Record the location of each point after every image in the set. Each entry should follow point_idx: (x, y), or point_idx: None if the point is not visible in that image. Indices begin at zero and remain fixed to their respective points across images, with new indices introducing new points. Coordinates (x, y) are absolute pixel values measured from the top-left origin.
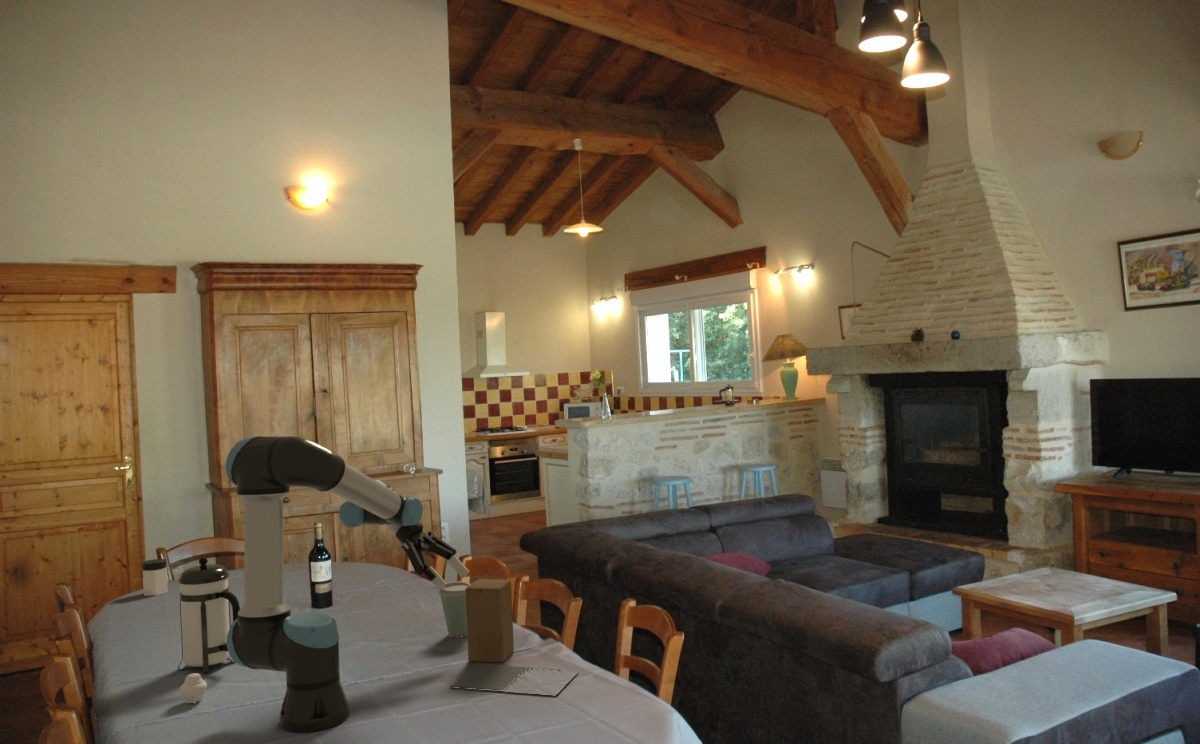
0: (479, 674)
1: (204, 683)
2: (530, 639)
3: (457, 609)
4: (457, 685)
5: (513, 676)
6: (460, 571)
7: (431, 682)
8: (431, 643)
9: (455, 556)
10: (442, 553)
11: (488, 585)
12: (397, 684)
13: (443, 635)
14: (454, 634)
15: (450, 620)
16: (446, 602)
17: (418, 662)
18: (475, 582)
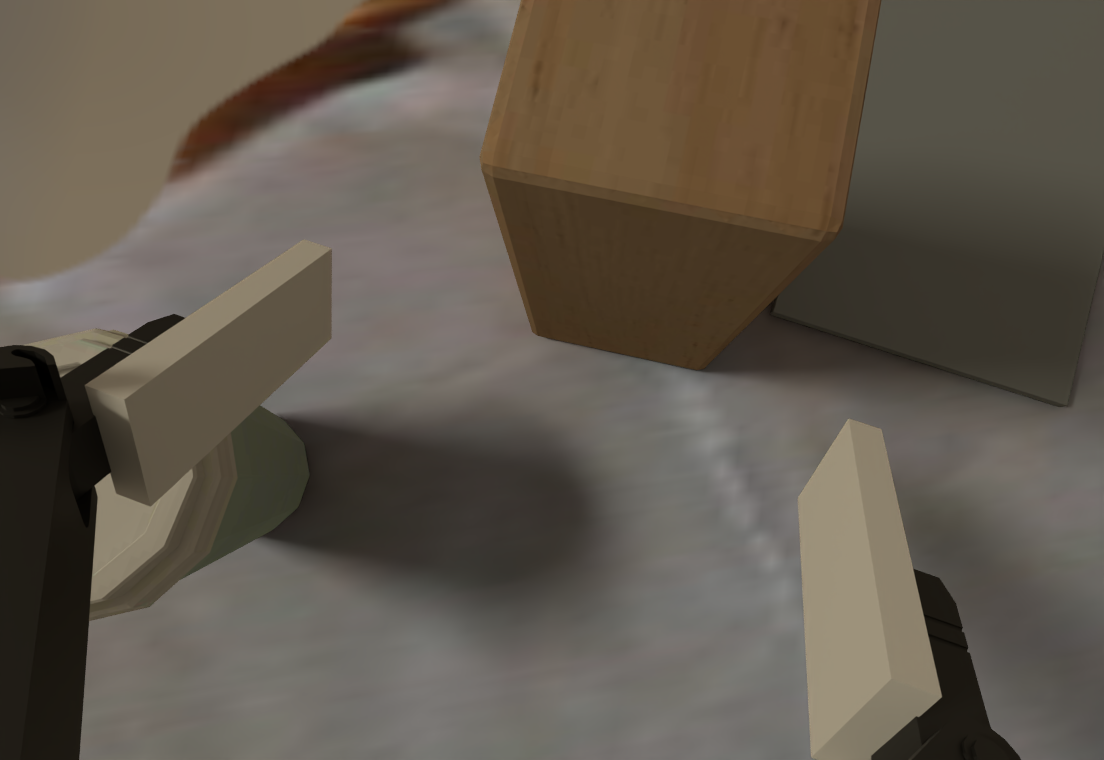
0: (922, 289)
1: None
2: (411, 117)
3: (260, 461)
4: (1066, 372)
5: (955, 139)
6: (291, 341)
7: (978, 509)
8: (377, 608)
9: (122, 367)
10: (71, 592)
11: (774, 23)
12: (1000, 680)
13: (250, 562)
14: (302, 493)
15: (272, 513)
16: (220, 540)
17: (680, 627)
18: (630, 161)
